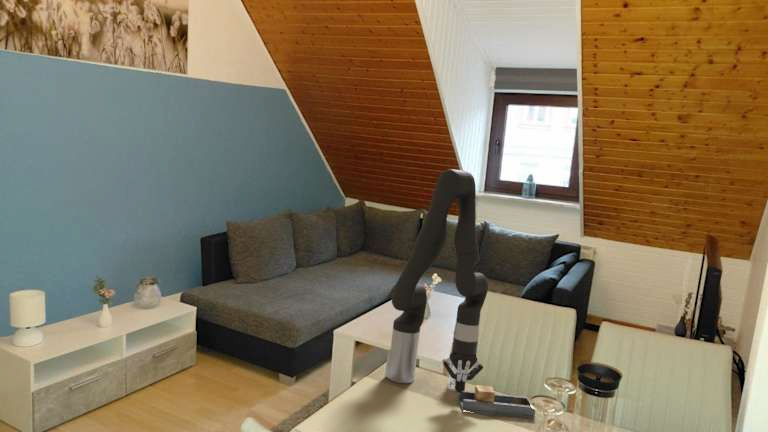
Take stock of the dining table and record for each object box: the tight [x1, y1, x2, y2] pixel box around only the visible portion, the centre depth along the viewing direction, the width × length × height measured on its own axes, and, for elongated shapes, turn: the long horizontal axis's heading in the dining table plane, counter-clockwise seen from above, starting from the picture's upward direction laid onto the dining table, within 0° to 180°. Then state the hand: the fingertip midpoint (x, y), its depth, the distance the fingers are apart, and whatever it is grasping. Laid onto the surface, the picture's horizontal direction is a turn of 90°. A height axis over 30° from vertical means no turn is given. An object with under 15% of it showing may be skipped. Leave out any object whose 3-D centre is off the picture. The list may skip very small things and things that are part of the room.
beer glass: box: [446, 342, 466, 393], centre depth 183 cm, size 7×7×15 cm
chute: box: [457, 390, 536, 420], centre depth 169 cm, size 22×9×4 cm, turn 91°
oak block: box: [474, 384, 496, 402], centre depth 169 cm, size 5×5×5 cm
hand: (459, 391), depth 168 cm, fingers closed
